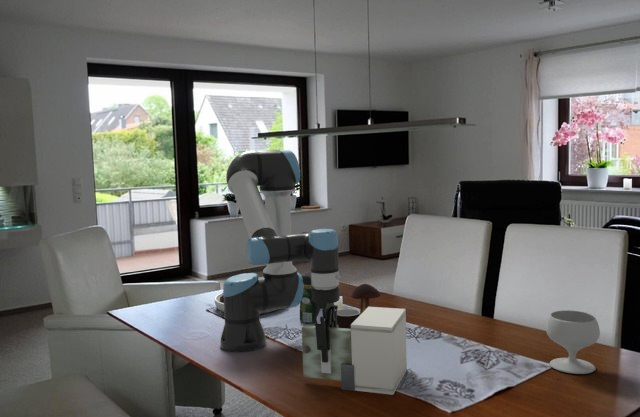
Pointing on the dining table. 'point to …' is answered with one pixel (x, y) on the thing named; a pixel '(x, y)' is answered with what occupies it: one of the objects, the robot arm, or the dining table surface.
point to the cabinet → (379, 349)
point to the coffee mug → (346, 317)
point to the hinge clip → (347, 377)
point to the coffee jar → (307, 301)
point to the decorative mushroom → (365, 295)
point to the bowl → (220, 303)
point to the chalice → (572, 338)
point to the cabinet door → (339, 352)
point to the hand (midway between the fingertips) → (328, 370)
